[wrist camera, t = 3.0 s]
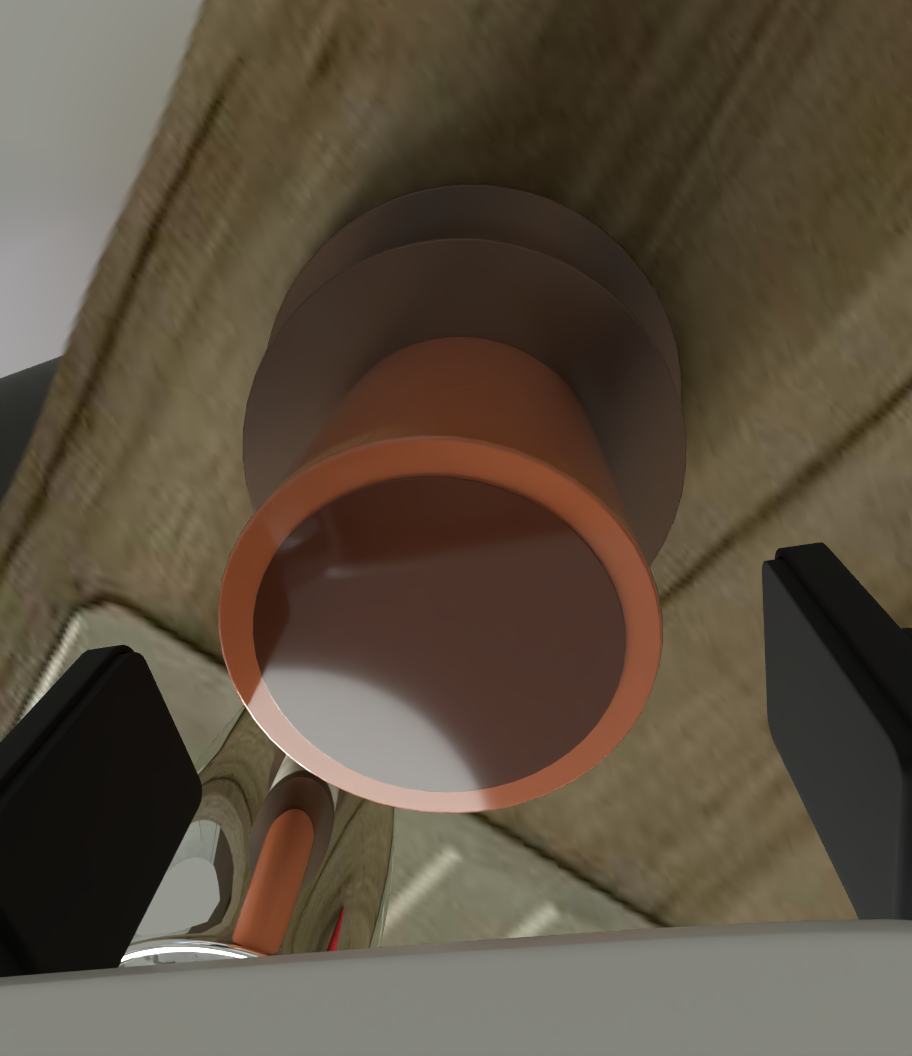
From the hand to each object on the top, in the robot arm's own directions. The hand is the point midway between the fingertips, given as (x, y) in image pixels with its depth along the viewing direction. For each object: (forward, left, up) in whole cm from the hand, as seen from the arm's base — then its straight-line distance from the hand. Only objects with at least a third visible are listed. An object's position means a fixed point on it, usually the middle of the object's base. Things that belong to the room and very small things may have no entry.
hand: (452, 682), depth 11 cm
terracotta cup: (0, 0, -9) cm, 9 cm away
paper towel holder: (0, 0, -16) cm, 16 cm away
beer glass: (+3, -12, -16) cm, 20 cm away
